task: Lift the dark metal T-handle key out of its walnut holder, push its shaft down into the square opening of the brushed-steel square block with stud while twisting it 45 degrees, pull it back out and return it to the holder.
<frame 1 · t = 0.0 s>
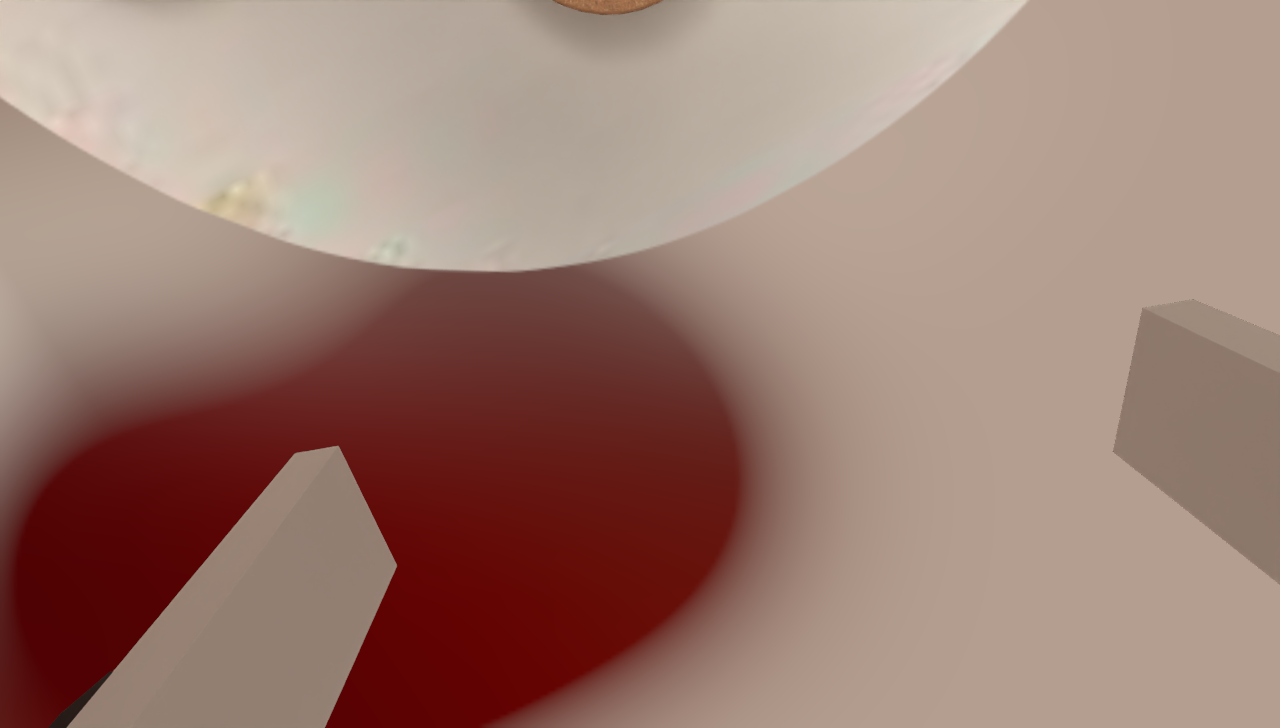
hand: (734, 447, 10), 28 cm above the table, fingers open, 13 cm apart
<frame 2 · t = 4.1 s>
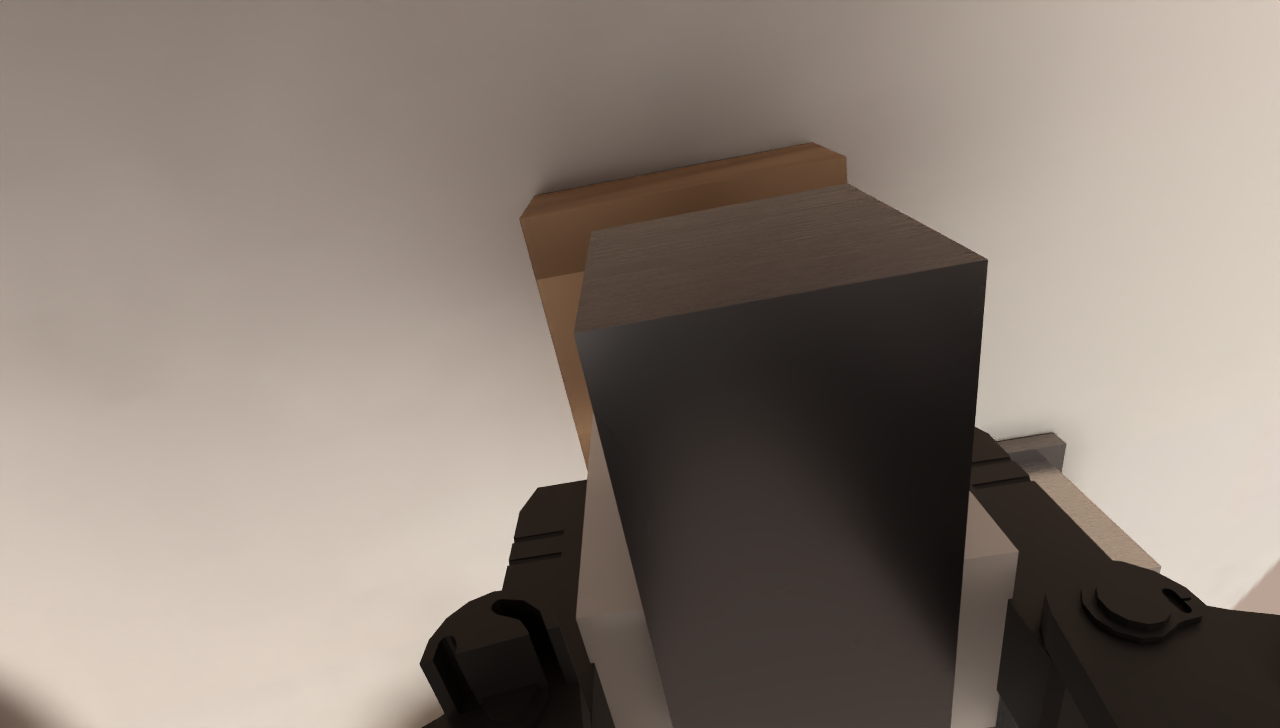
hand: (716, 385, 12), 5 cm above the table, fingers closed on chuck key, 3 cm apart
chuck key: (691, 299, 17), resting in key stand, touching gripper
key stand: (691, 299, 17), on the table
square block with stud: (877, 585, 22), on the table
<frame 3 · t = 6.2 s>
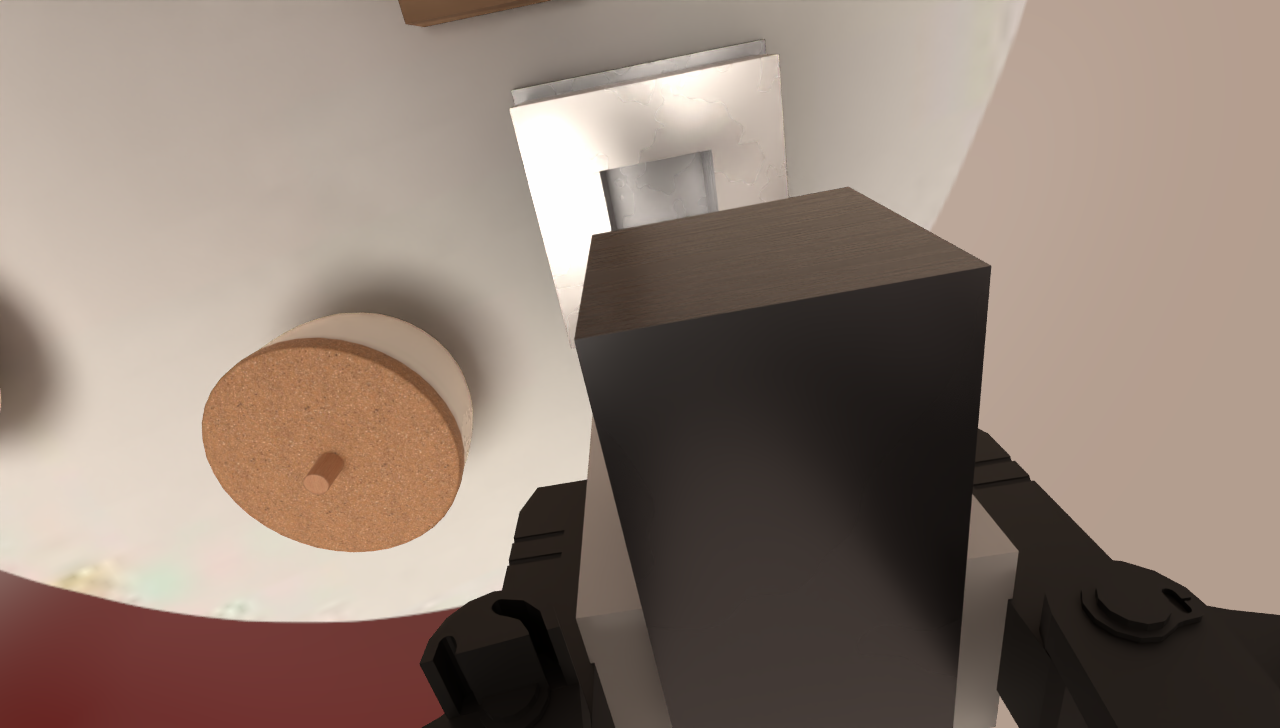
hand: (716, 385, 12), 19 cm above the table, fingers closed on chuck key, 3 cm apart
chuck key: (691, 301, 17), point 14 cm above the table, touching gripper
lidded jar: (394, 373, 33), on the table
square block with stud: (657, 191, 29), on the table
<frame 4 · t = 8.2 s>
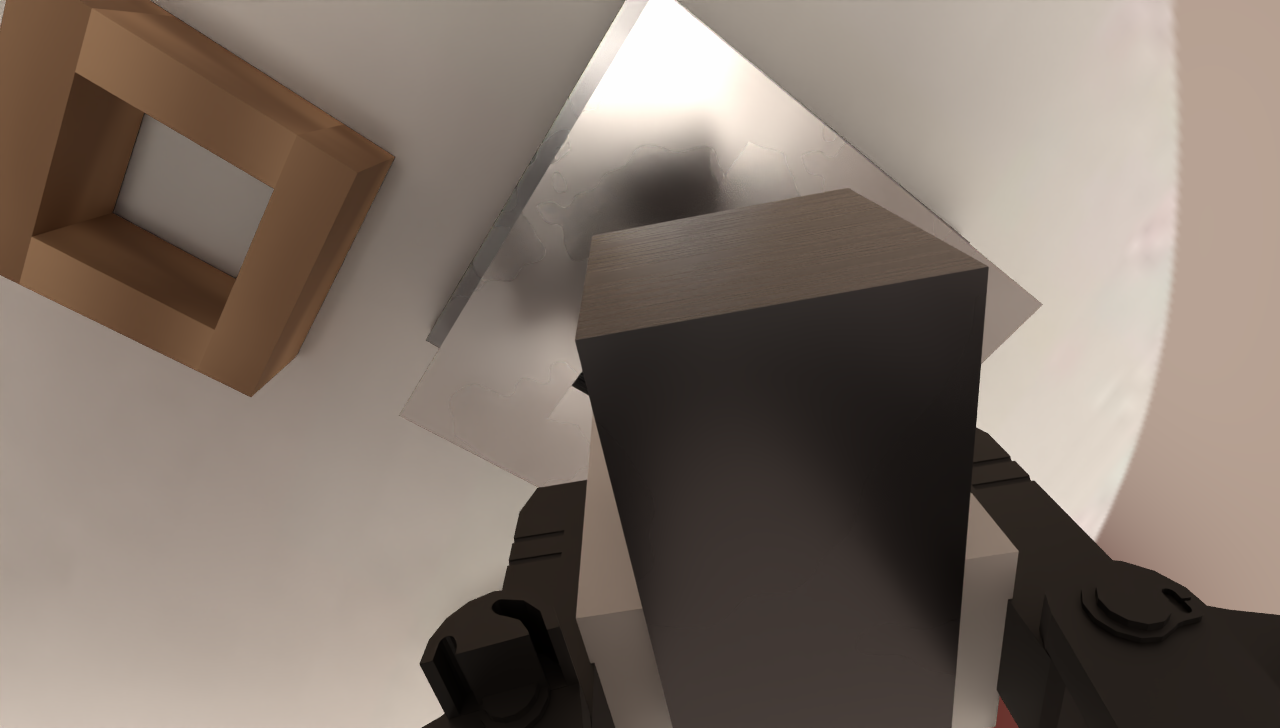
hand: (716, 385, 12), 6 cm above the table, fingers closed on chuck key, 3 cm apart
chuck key: (691, 301, 17), point 1 cm above the table, touching gripper
key stand: (216, 192, 16), on the table
square block with stud: (688, 285, 18), on the table
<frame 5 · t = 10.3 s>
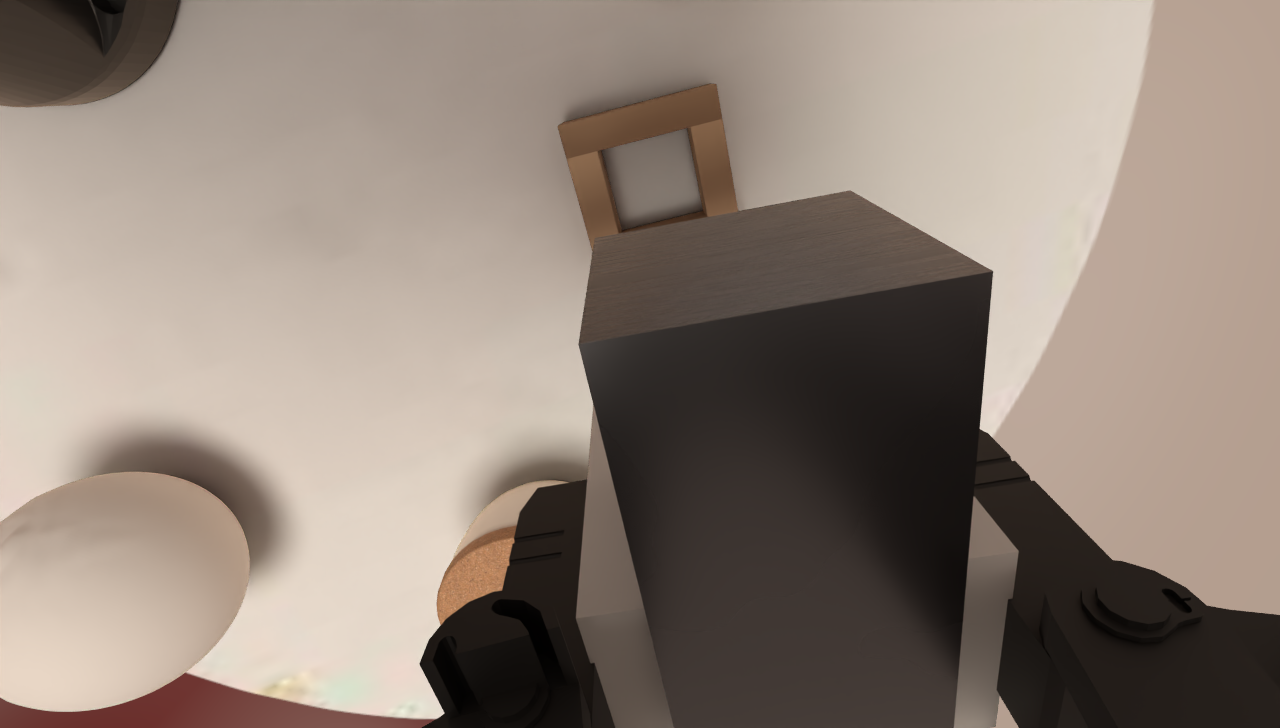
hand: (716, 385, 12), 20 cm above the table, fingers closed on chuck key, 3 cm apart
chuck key: (692, 302, 17), point 15 cm above the table, touching gripper
lidded jar: (557, 517, 39), on the table
key stand: (652, 178, 30), on the table
decorative ball: (193, 510, 38), on the table
when the fingers open (6 cm above the table, at t = 12.3 s): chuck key drops 1 cm, resting in key stand.
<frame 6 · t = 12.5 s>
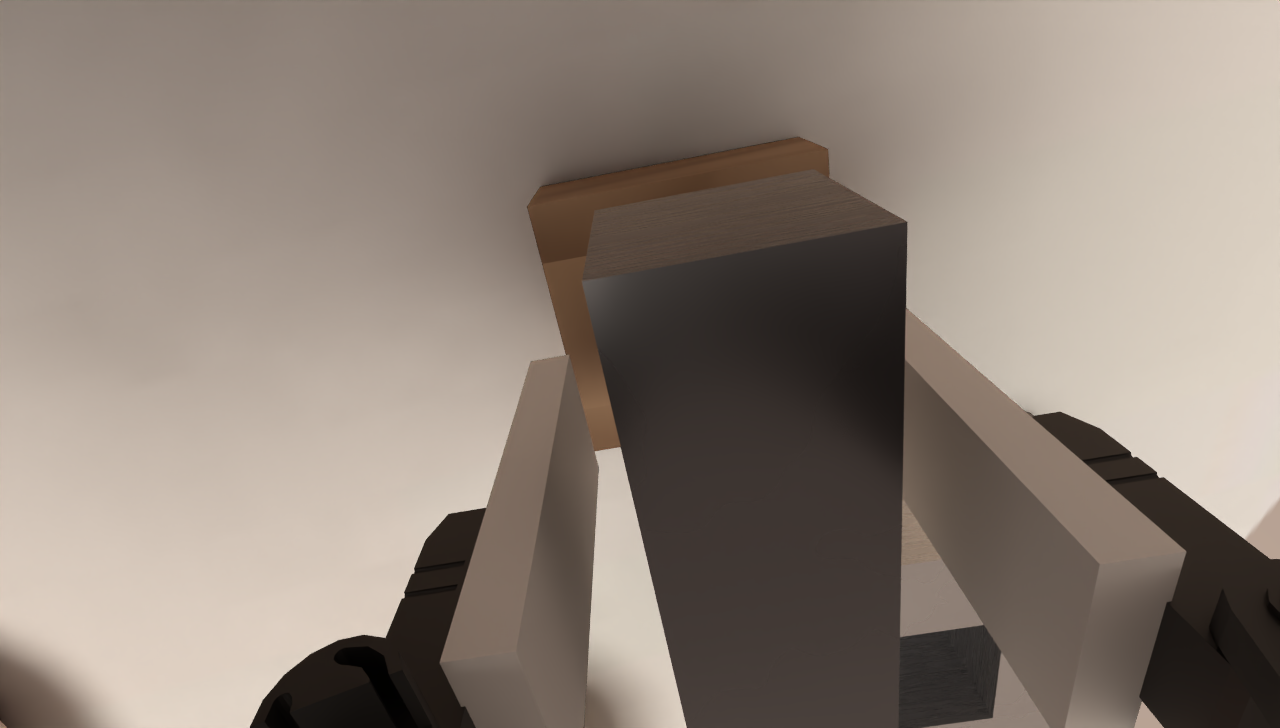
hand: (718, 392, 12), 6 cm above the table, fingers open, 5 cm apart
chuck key: (686, 286, 18), resting in key stand
key stand: (687, 285, 18), on the table
square block with stud: (864, 560, 23), on the table
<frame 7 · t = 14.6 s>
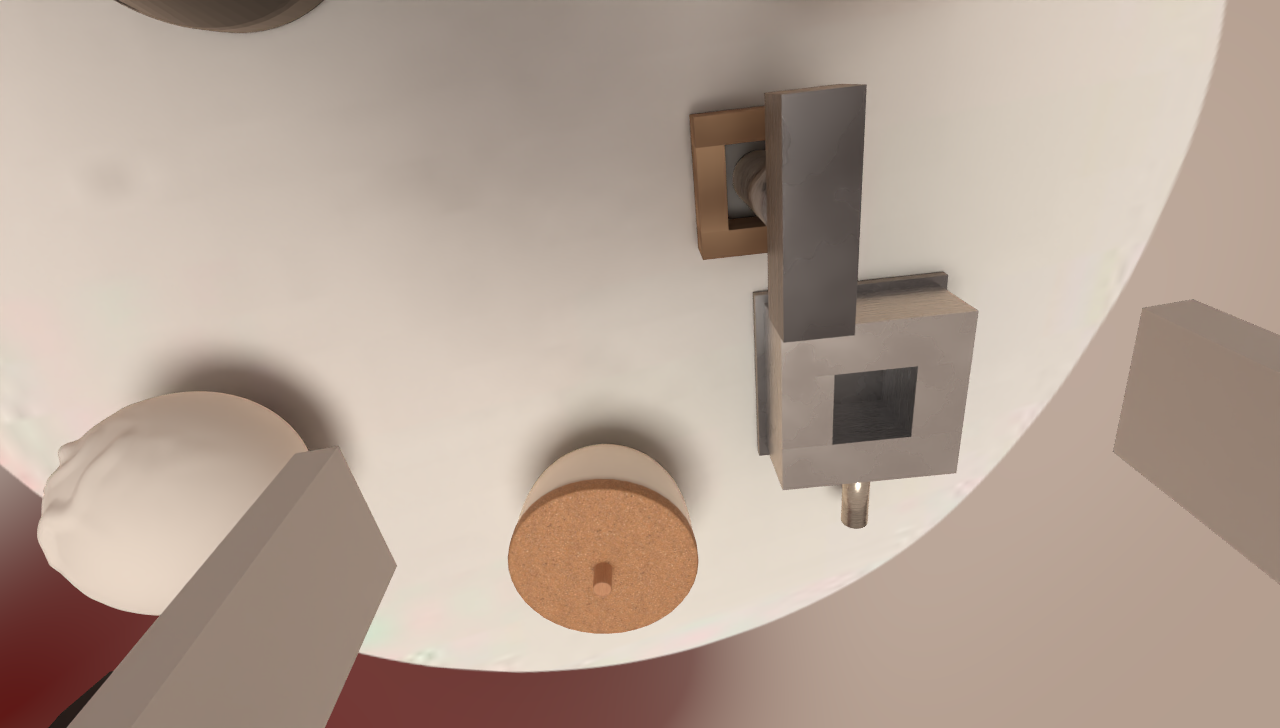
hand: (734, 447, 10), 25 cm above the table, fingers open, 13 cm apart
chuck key: (758, 177, 33), resting in key stand
lidded jar: (607, 482, 41), on the table
key stand: (758, 176, 33), on the table
decorative ball: (256, 438, 39), on the table
square block with stud: (844, 367, 38), on the table
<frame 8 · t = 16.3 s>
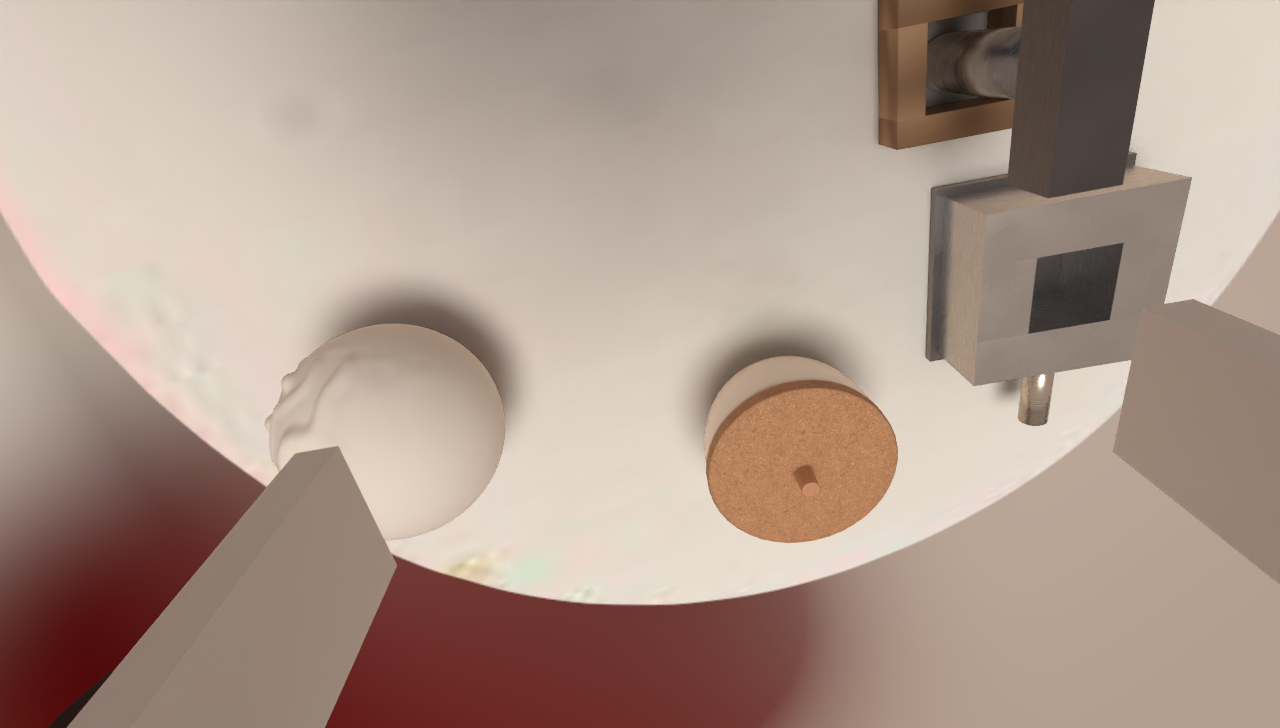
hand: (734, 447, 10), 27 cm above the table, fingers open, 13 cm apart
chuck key: (944, 62, 32), resting in key stand
lidded jar: (771, 401, 41), on the table
key stand: (945, 62, 32), on the table
decorative ball: (427, 378, 40), on the table
square block with stud: (1019, 262, 37), on the table
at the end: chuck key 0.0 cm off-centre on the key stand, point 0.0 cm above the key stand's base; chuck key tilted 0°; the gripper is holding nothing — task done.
